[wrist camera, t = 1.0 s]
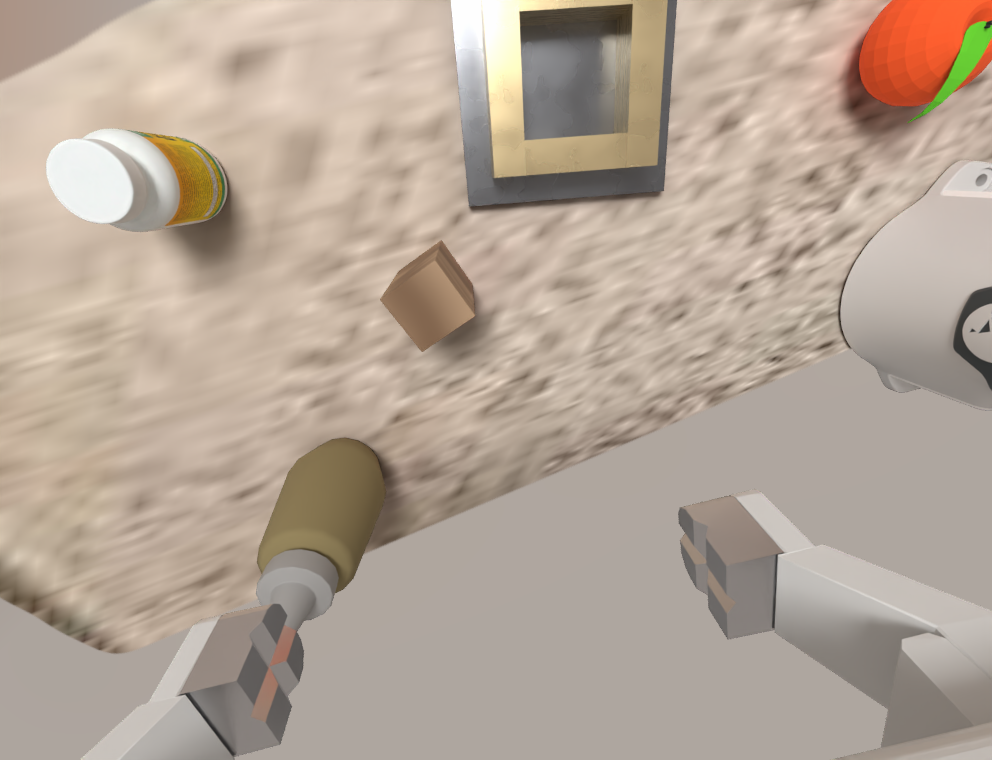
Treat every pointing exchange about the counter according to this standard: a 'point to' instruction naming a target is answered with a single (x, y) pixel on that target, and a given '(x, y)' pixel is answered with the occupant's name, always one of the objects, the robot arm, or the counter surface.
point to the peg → (430, 297)
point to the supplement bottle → (136, 180)
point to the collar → (563, 96)
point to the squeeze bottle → (319, 528)
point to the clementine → (925, 50)
